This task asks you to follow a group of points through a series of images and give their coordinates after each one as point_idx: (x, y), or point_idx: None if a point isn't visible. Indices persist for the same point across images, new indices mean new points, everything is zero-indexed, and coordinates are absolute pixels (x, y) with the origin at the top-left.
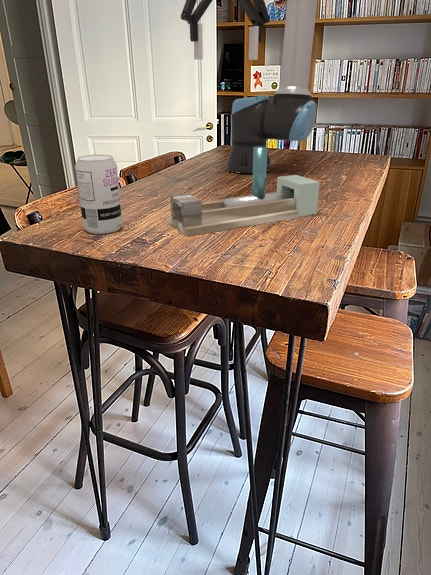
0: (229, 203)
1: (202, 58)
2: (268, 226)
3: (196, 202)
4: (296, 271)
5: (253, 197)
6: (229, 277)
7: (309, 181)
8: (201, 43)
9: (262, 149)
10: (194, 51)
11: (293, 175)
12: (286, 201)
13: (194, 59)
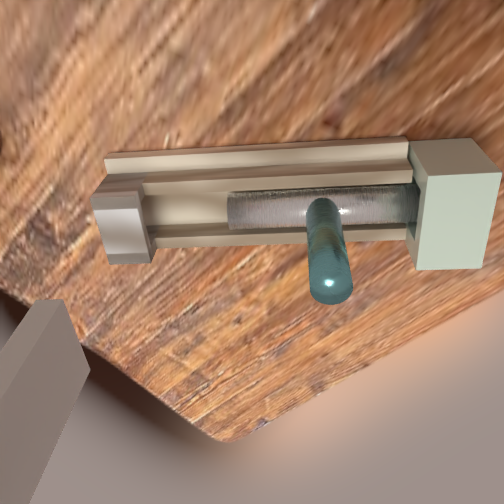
0: (232, 229)
1: (86, 373)
2: (303, 251)
3: (139, 262)
4: (239, 394)
5: (301, 224)
6: (153, 379)
7: (463, 254)
8: (39, 460)
9: (325, 302)
10: (11, 347)
11: (487, 177)
12: (378, 239)
13: (37, 302)
